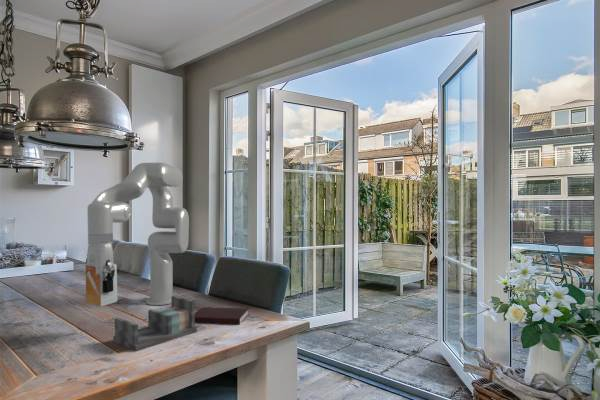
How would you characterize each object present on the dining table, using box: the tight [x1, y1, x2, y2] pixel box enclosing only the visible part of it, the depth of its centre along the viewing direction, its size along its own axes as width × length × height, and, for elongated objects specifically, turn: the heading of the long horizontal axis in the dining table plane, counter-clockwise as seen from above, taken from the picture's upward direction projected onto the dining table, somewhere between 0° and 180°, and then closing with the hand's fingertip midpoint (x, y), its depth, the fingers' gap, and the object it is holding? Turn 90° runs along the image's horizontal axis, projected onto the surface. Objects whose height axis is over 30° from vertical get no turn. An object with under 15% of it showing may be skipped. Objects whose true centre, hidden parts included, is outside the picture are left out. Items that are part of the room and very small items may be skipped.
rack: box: [112, 295, 197, 352], centre depth 128 cm, size 14×22×10 cm, turn 142°
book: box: [195, 306, 250, 326], centre depth 147 cm, size 12×19×3 cm, turn 82°
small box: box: [85, 263, 118, 307], centre depth 130 cm, size 8×6×13 cm
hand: (101, 289), depth 130 cm, fingers closed on small box, 8 cm apart
